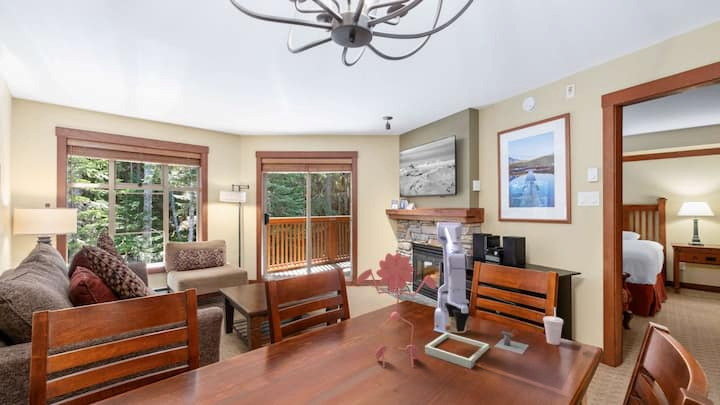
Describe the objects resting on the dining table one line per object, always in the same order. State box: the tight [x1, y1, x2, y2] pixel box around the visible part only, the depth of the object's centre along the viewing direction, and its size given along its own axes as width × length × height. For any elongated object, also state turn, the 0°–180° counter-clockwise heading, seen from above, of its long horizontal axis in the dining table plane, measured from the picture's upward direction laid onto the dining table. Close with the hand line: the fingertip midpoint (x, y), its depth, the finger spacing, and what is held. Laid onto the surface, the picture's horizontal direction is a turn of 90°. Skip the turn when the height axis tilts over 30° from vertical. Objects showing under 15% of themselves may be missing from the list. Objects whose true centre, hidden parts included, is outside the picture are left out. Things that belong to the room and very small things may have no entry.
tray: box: [424, 333, 490, 369], centre depth 113 cm, size 16×16×2 cm
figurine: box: [356, 252, 438, 368], centre depth 110 cm, size 15×26×35 cm, turn 92°
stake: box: [494, 330, 529, 355], centre depth 116 cm, size 9×9×5 cm
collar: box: [445, 317, 471, 334], centre depth 113 cm, size 8×6×4 cm
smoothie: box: [542, 306, 564, 346], centre depth 119 cm, size 6×6×14 cm
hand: (457, 327), depth 113 cm, fingers closed on collar, 6 cm apart
